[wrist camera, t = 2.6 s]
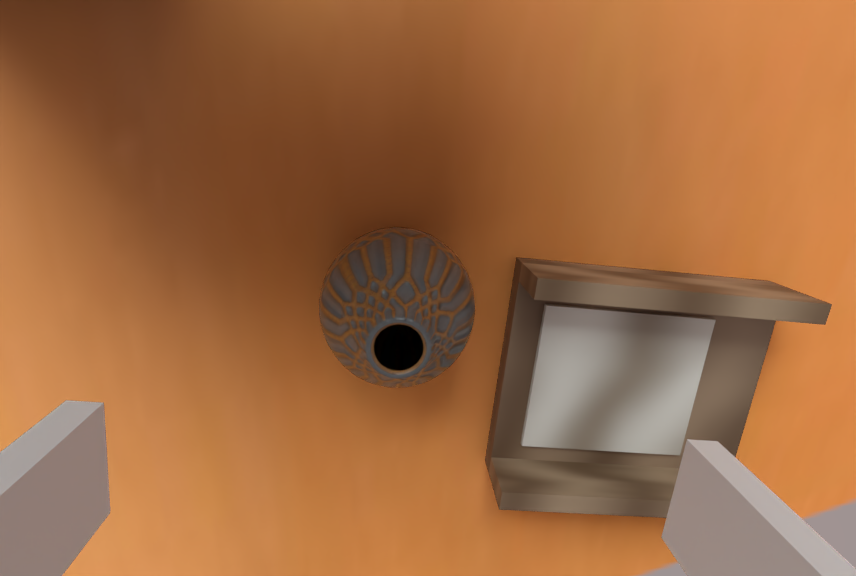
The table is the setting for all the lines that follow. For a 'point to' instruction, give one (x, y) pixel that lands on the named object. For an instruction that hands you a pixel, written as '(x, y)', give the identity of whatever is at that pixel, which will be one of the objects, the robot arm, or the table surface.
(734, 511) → the robot arm
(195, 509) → the table surface
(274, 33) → the table surface
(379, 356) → the vase
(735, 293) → the cradle
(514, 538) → the table surface
